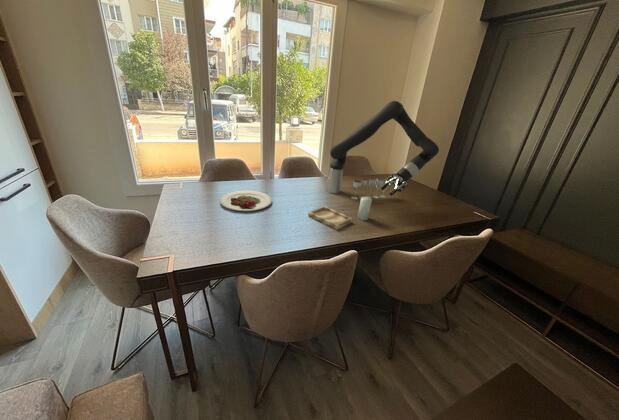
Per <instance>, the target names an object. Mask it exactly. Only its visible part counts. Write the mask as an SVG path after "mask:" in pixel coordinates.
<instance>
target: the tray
mask: <svg viewBox="0 0 619 420" xmlns="http://www.w3.org/2000/svg"><path fill="white" fill-rule="evenodd" d="M307 217H308V218H311V219H313V220H315V221H317V222H319V223H321V224H322V225H325V226H327V227H329V228H331V229H334V230H336V231H338V230H340V229H342V228H343V227H345V226H347V225H349V224H351V223H352V221H353V218H352V217H350V216H348V215H345V214H343V213H342V212H339V211H337V210H334V209H333V208H330V207H328V206H325V205H323V206H321V207H319V208H316V209H313V210H310V211H308V215H307Z"/></svg>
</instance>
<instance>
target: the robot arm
mask: <svg viewBox="0 0 619 420" xmlns="http://www.w3.org/2000/svg"><path fill="white" fill-rule="evenodd" d="M391 120H394V121H396V122H397V123H398V124H399V126H401V128H402V129H403V131H404V132H405V133H406V136H407V137H408V138H409V140H411V142H412V143H413V144H414V145H415V147H418V148H419V147H420V148H421V149H422V151H421V152H419V153H418V155H416V156H414V157H413V158H412V159H411V160H410V161H409V162H407V163H406V164H405V165H404V166H402V168H400V169H399V170H398V171H397V172H396V175H394V174H393V173H392V174H390V175H389V176H388V177H387V178H386V179H383V180H384V181H385V184H384V185H383V186H381V187H380V189H381V190H382V191H384V189H385V188H386V187H387V186H388V185H389V186H395V187H394V188H392V189H391V190H390V192H389V193H388V194H389V195H390V196H394V194H396V193H397V192H399V193H401V192H402V191H403V190H405V189H406V187H407V186H408V185H409V184H408V181H409V180H411V179H412V178H413V177H414V176H415V175H417V173H418V172H419V171H420V170H421V169H423V167H425V165H427V163H428V162H430V161H431V160H432V159H433V158H435V157H436V156H437V155H438V154H439V151H440V149H439V146H438V144H437V143H436V142H434V141H433V140H432V139H430V138H429V137H428V136H427V135H426V134H425V133H424V132H423V131H422V130H421V128H420V127H419V126H418V125H417V124H416V123H415V122H414V121H413V120H412V119H411V117H410V116H409V115H408V113H407V110H406V109H405V107H404V105H403V104H402V103H401V102H400V101H397V100H392V101H390V102H388V103H387V104H386V105H384V106H383V108H382V109H380V110H379V111H378V112H377V113H376V114H375V115H373V116H371V118H369V119H368V120H366V121H364V123H362V124H361V125H360V126H357V128H356V129H355V130H353V131H352V132H351V133H350V134H349V135H348V136H347V137H346V138H344V139H343V140H341V141H340V142H339V143H337V144H335V145H334V146H332V148H331V149H330V151H329V152H330V153H329V155H330V157H331V158H332V160H331V162H330V166H329V173H328V177H327V180H326V186H325V191H327V192H328V193H330V194H339V193H341V187H342V180H343V179H342V178H343V174H344V167H345V165H346V161H347V155H348V154H347V153H348V152H349V151H350V150H352V149H354V148H355V147H356V146H359V145H361V144H362V143H364V142H366V141H367V140H368V139H370V138H371V137H373V136H374V135H375V134H376V133H377V131H378V130H379V129H381V127H382V126H383V125H385V123H387V122H389V121H391ZM387 180H388V181H387ZM389 186H388V187H389ZM388 187H387V188H388ZM387 188H386V189H387ZM386 189H385V190H386Z"/></svg>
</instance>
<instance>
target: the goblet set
mask: <svg viewBox="0 0 619 420" xmlns="http://www.w3.org/2000/svg"><path fill="white" fill-rule="evenodd" d="M384 180H385V179H383V178H379V177H378V178H376V179H375V178H369V180H368V179H366V178H363V179H362V180H359V179H358V180H355V179H354V180H353V182H352V188H353V189H354V192H355V193H354V195H356V194H357V191H358V190H359V189H361V188H362V195H361V196H359V197H357V196H351V199H352V200H358V199H361V197H364V196H363V195H364V191H365V188H366V187H367V185H369V187H368V188H369V194H368V195H367V196H365V197H369V198H371V199H372V198H374V199H380V198H384V199H386V198H387V197H386V195H385V191H386V190H387V189H388V188H389V186H390V185H388V186H387V187H386V188H385V189H384V190H383V193H382V194H381V195H379V196H378V192H379V190H380V189H381V187H382V186H383V185H384V184H385V181H384ZM368 181H369V182H368ZM387 181H388V180H387ZM374 186H375V187H376V192H375V195H373V196H370V195H371V191H372V189H373V187H374Z"/></svg>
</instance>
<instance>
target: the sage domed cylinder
mask: <svg viewBox="0 0 619 420" xmlns="http://www.w3.org/2000/svg"><path fill="white" fill-rule="evenodd" d="M360 197H361V198H360V201H359V207H358V213H357V219H358V220H361V221H368V220H369V216H370V211H371V207H372V201H373V199H372V198H369V197H366V196H360Z"/></svg>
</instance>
